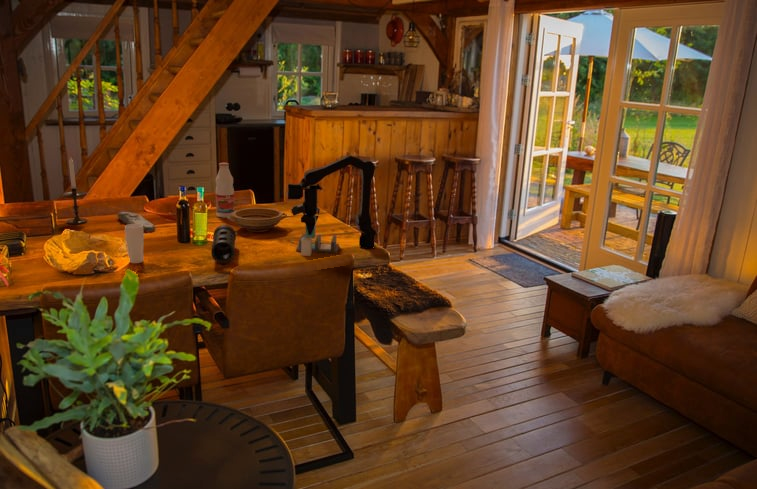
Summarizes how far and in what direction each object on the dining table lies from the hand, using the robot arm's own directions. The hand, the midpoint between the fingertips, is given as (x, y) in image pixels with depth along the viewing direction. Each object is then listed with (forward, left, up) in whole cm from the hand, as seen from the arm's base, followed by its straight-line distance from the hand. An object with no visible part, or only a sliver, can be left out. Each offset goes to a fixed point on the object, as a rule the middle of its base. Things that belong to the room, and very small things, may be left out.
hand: (310, 233), depth 267 cm
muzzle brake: (+35, +16, -7) cm, 39 cm away
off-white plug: (+1, +9, -7) cm, 11 cm away
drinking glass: (+66, +30, -7) cm, 73 cm away
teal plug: (0, 0, -2) cm, 2 cm away
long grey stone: (+89, -27, -8) cm, 94 cm away
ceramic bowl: (+30, -28, -7) cm, 42 cm away
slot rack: (-3, 0, -7) cm, 8 cm away
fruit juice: (+52, -51, -7) cm, 73 cm away
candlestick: (+118, -25, -7) cm, 121 cm away
